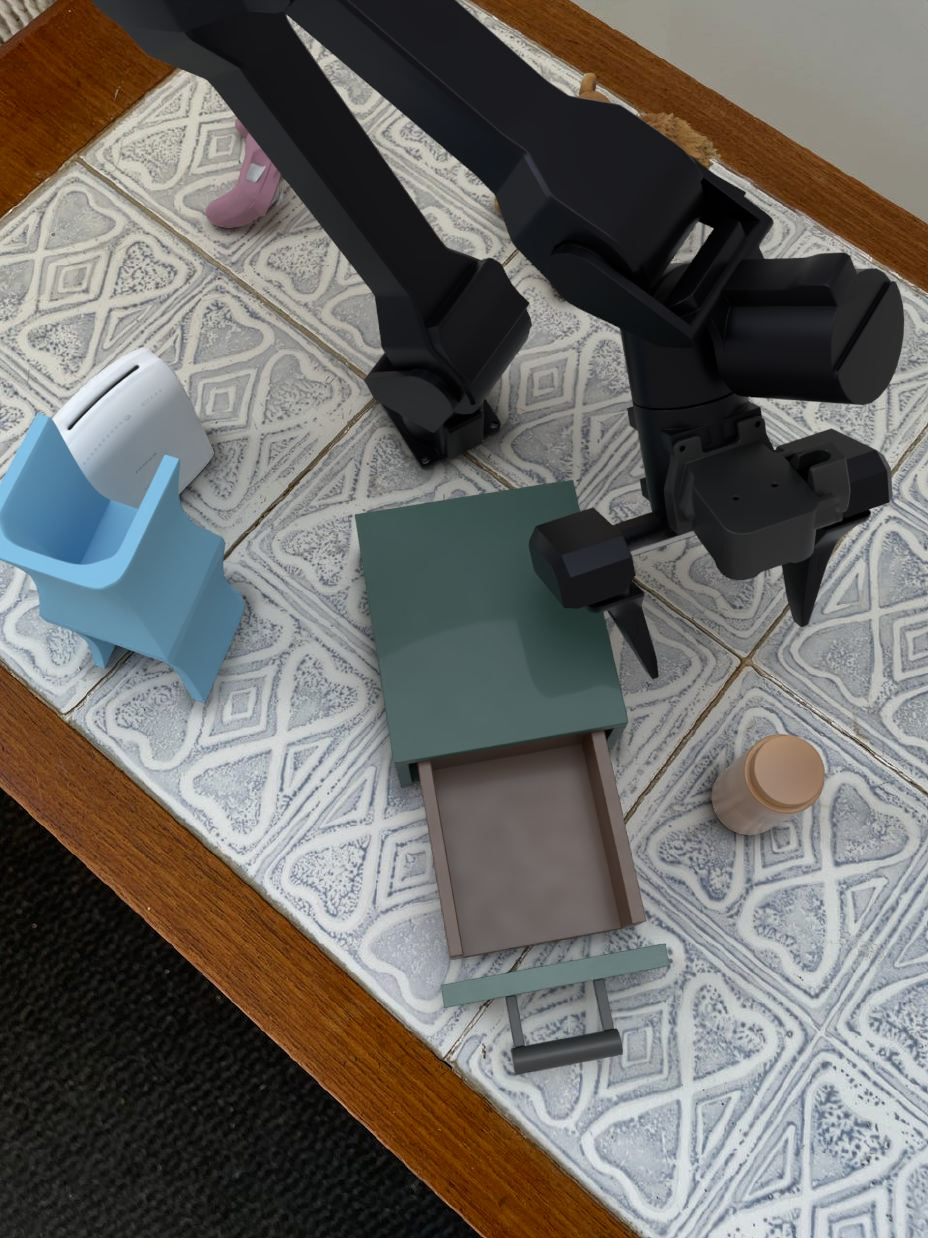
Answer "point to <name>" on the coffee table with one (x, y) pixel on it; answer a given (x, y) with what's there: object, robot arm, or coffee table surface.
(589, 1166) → the coffee table surface
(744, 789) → the tan lidded cylinder
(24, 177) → the coffee table surface
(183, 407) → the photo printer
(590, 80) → the stuffed squirrel
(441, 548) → the cabinet
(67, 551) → the light blue toy chair
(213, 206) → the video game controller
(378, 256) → the robot arm
